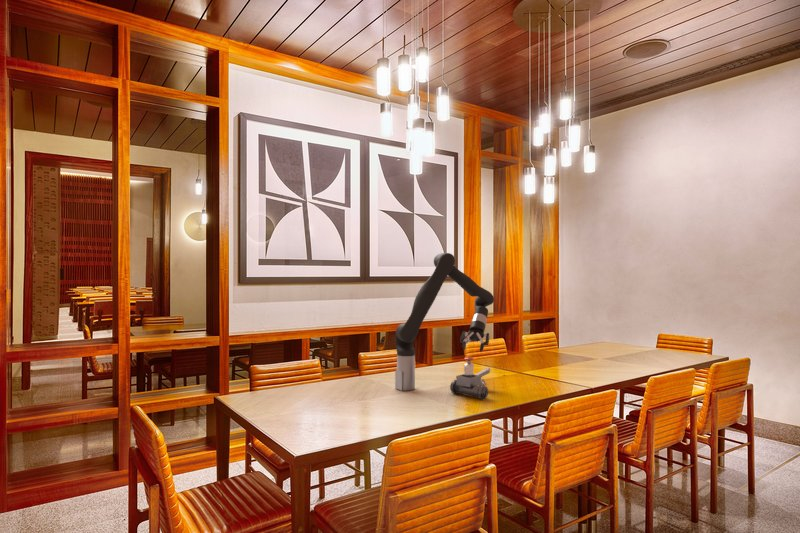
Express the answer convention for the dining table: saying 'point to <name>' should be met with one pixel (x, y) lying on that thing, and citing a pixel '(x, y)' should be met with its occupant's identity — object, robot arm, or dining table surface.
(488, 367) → the door handle
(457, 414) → the dining table surface
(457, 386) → the grey toy rover
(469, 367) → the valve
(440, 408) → the dining table surface
